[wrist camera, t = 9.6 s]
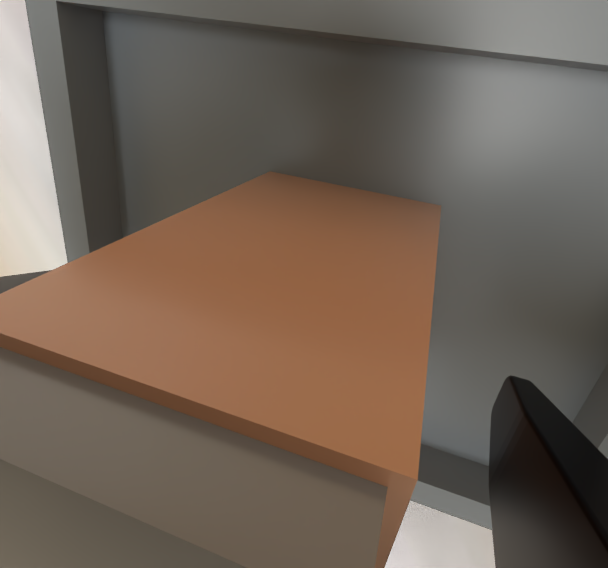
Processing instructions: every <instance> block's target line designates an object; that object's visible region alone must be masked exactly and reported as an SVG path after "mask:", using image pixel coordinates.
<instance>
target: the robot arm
mask: <svg viewBox="0 0 608 568" xmlns="http://www.w3.org/2000/svg"><path fill="white" fill-rule="evenodd" d="M50 271H52V270H50ZM47 272H49V271H42V272H35V273H27V274H19V275H11V276H4V277H0V294H1V293H3V292H5V291H8V290H10V289H12V288H14V287H16V286H19V285H21V284H23V283H25V282H27V281H30V280H32V279H34V278H36V277H38V276H41V275H43V274H45V273H47ZM489 499H490V510H491V522H492V533H493V544H494V555H495V566H496V568H608V459H607V458H606V457H605V456H604V455H603V454H602V453H601V452H600V451H599V450H598V448H597V447H596V446H595V445H594V444H593V443H592V442H591V441H590V440H589V439H588V438H587V437H586V436H585V435H584V434H583V433H582V432H581V431H580V430H579V429H578V428H577V427H576V426H575V425H574V424H573V423H572V422H571V421H570V420H569V419H568V418H567V417H566V416H565V415H564V414H563V413H562V412H561V411H560V410H559V409H558V408H557V407H556V406H555V405H554V404H553V403H552V402H551V401H550V400H549V399H548V398H547V397H546V396H545V395H544V394H543V393H542V392H541V391H540V390H539V389H538V388H537V387H536V386H535V385H534V384H533V383H532V382H531V381H529V380H527V379H523V378H519V377H516V376H512V375H510V376H508V377H507V378H506V379H505V381H504V383H503V385H502V387H501V389H500V391H499V394H498V396H497V398H496V400H495V402H494V405H493V408H492V412H491V426H490V452H489Z"/></svg>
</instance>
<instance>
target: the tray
mask: <svg viewBox="0 0 608 568" xmlns="http://www.w3.org/2000/svg"><path fill="white" fill-rule="evenodd" d="M25 2H26V9H27V15H28V21H29V27H30V33H31V39H32V45H33V52H34V58H35V64H36V70H37V76H38V82H39V89H40V95H41V101H42V107H43V113H44V119H45V125H46V132H47V138H48V144H49V150H50V156H51V162H52V168H53V175H54V181H55V187H56V193H57V199H58V205H59V211H60V218H61V224H62V230H63V236H64V242H65V248H66V254H67V261H68V263H69V262H71V261H74V260H76V259H78V258H80V257H82V256H85V255H87V254H89V253H91V252H93V251H96V250H98V249H100V248H102V247H104V246H107V245H109V244H111V243H113V242H115V241H118V240H120V239H122V238H124V237H126V236H129V235H131V234H133V233H135V232H137V231H140V230H142V229H144V228H146V227H148V226H151V225H153V224H155V223H157V222H159V221H162V220H164V219H166V218H168V217H170V216H173V215H175V214H177V213H179V212H181V211H184V210H186V209H188V208H190V207H192V206H195V205H197V204H199V203H201V202H203V201H206V200H208V199H210V198H212V197H214V196H217V195H219V194H221V193H223V192H225V191H228V190H230V189H232V188H234V187H236V186H239V185H241V184H243V183H245V182H247V181H250V180H252V179H254V178H256V177H258V176H261V175H263V174H265V173H267V172H269V171H271V172H276V173H281V174H286V175H291V176H296V177H301V178H306V179H311V180H316V181H321V182H326V183H331V184H336V185H341V186H346V187H351V188H356V189H361V190H366V191H371V192H376V193H381V194H386V195H391V196H396V197H401V198H406V199H411V200H416V201H421V202H426V203H431V204H436V205H441V214H440V226H439V237H438V249H437V261H436V272H435V284H434V295H433V307H432V319H431V330H430V342H429V353H428V365H427V377H426V388H425V400H424V411H423V423H422V434H421V446H420V458H419V469H418V480H417V483H416V485H415V488H414V491H413V493H412V496H411V499H410V500H411V501H414V502H417V503H419V504H422V505H425V506H428V507H430V508H433V509H436V510H439V511H441V512H444V513H447V514H449V515H452V516H455V517H458V518H460V519H463V520H466V521H469V522H471V523H474V524H477V525H480V526H482V527H485V528H488V529H490V530H492V522H491V510H490V499H489V452H490V426H491V412H492V408H493V405H494V402H495V400H496V398H497V396H498V394H499V391H500V389H501V387H502V385H503V383H504V381H505V379H506V378H507V377H508V376H510V375H512V376H516V377H519V378H523V379H527V380H529V381H531V382H532V383H533V384H534V385H535V386H536V387H537V388H538V389H539V390H540V391H541V392H542V393H543V394H544V395H545V396H546V397H547V398H548V399H549V400H550V401H551V402H552V403H553V404H554V405H555V406H556V407H557V408H558V409H559V410H560V411H561V412H562V413H563V414H564V415H565V416H566V417H567V418H568V419H569V420H570V421H571V422H572V423H573V424H574V425H575V426H576V427H577V428H578V429H579V430H580V431H581V432H582V433H583V434H584V435H585V436H586V437H587V438H588V439H589V440H590V441H591V442H592V443H593V444H594V445H595V446H596V447H597V448H598V450H599V451H600V452H601V453H602V454H603V455H604V456H605V457H606V458H607V459H608V0H25Z"/></svg>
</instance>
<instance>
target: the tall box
mask: <svg viewBox="0 0 608 568" xmlns="http://www.w3.org/2000/svg"><path fill="white" fill-rule="evenodd" d="M440 214H441V205H436V204H431V203H426V202H421V201H416V200H411V199H406V198H401V197H396V196H391V195H386V194H381V193H376V192H371V191H366V190H361V189H356V188H351V187H346V186H341V185H336V184H331V183H326V182H321V181H316V180H311V179H306V178H301V177H296V176H291V175H286V174H281V173H276V172H271V171H269V172H267V173H265V174H263V175H261V176H258V177H256V178H254V179H252V180H250V181H247V182H245V183H243V184H241V185H239V186H236V187H234V188H232V189H230V190H228V191H225V192H223V193H221V194H219V195H217V196H214V197H212V198H210V199H208V200H206V201H203V202H201V203H199V204H197V205H195V206H192V207H190V208H188V209H186V210H184V211H181V212H179V213H177V214H175V215H173V216H170V217H168V218H166V219H164V220H162V221H159V222H157V223H155V224H153V225H151V226H148V227H146V228H144V229H142V230H140V231H137V232H135V233H133V234H131V235H129V236H126V237H124V238H122V239H120V240H118V241H115V242H113V243H111V244H109V245H107V246H104V247H102V248H100V249H98V250H96V251H93V252H91V253H89V254H87V255H85V256H82V257H80V258H78V259H76V260H74V261H71V262H69V263H67V264H65V265H63V266H60V267H58V268H56V269H54V270H52V271H49V272H47V273H45V274H43V275H41V276H38V277H36V278H34V279H32V280H30V281H27V282H25V283H23V284H21V285H19V286H16V287H14V288H12V289H10V290H8V291H5V292H3V293H1V294H0V568H384V567H385V564H386V562H387V559H388V556H389V554H390V551H391V548H392V546H393V543H394V541H395V538H396V535H397V533H398V530H399V527H400V525H401V522H402V520H403V517H404V514H405V512H406V509H407V506H408V504H409V501H410V499H411V496H412V493H413V491H414V488H415V485H416V483H417V480H418V469H419V458H420V446H421V434H422V423H423V411H424V400H425V388H426V377H427V365H428V353H429V342H430V330H431V319H432V307H433V295H434V284H435V272H436V261H437V249H438V237H439V226H440Z"/></svg>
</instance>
